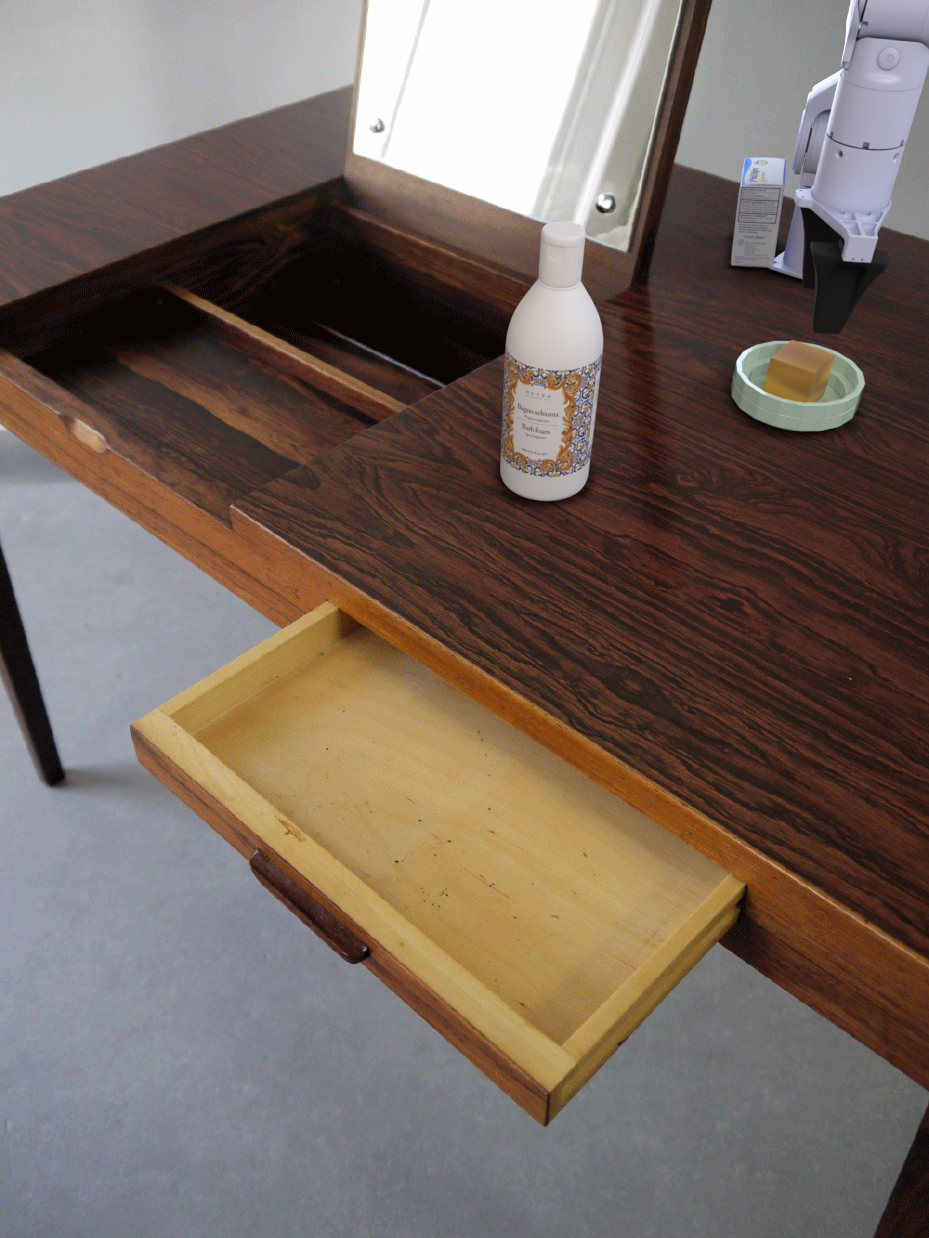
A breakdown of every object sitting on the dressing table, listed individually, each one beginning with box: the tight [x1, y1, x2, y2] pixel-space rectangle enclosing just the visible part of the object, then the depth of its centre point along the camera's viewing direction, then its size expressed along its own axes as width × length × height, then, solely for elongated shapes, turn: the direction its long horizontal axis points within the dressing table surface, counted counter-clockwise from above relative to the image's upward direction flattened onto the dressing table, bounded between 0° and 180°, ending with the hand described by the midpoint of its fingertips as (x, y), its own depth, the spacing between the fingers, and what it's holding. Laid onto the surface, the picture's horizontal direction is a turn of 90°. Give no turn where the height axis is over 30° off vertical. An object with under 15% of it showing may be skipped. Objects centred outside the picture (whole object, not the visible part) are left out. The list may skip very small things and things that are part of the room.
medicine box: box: [730, 156, 787, 269], centre depth 110 cm, size 8×4×9 cm, turn 166°
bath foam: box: [499, 220, 604, 502], centre depth 76 cm, size 7×7×20 cm
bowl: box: [730, 340, 866, 432], centre depth 91 cm, size 11×11×3 cm
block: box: [763, 339, 835, 402], centre depth 90 cm, size 4×4×4 cm
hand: (820, 309), depth 86 cm, fingers open, 7 cm apart
